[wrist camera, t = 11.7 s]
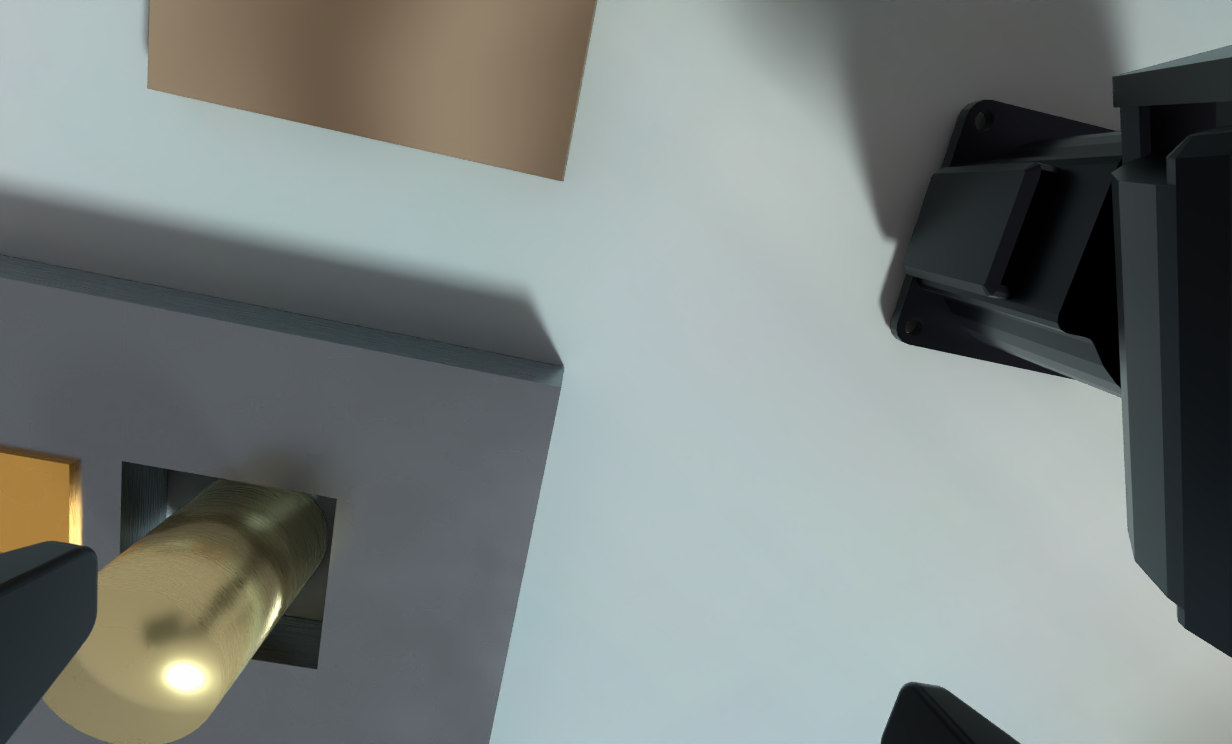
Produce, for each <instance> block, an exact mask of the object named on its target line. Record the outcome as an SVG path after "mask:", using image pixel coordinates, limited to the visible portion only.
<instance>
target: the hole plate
mask: <svg viewBox="0 0 1232 744" xmlns="http://www.w3.org/2000/svg"><path fill="white" fill-rule="evenodd" d="M563 372H564V367H562V366H557V365H552V364H547V363H542V362H537V361H532V360H527V359H522V358H517V357H512V356H507V355H502V354H497V353H492V352H487V351H482V350H477V349H472V348H467V347H462V346H457V345H452V344H447V343H442V342H436V341H431V340H426V339H421V338H416V337H411V336H406V335H401V334H396V333H391V332H386V331H381V330H376V329H371V328H366V327H361V326H356V325H351V324H346V323H341V322H336V321H331V320H326V319H321V318H316V317H311V316H306V315H301V314H296V313H291V312H286V311H281V310H276V309H271V308H266V307H261V306H256V305H250V304H245V303H240V302H235V301H230V300H225V299H220V298H215V297H210V296H205V295H200V294H195V293H190V292H185V291H180V290H175V289H170V288H165V287H160V286H155V285H150V284H145V283H140V282H135V281H130V280H125V279H120V278H115V277H110V276H105V275H100V274H95V273H90V272H85V271H80V270H75V269H70V268H65V267H59V266H54V265H49V264H44V263H39V262H34V261H29V260H24V259H19V258H14V257H9V256H4V255H0V553H4V552H8V551H11V550H15V549H19V548H22V547H26V546H30V545H33V544H37V543H41V542H45V541H59V542H65V543H71V544H77V545H83V546H88V547H90V548H91V549H93V550H94V551H95V553H96V555H97V559H98V571H100V570H101V569H102V568H104V567H105V566H106V565H107V564H109V563H110V562H111V561H113V560H114V559H115V558H116V557H118V556H119V555H120V554H122V553H123V552H124V551H125V550H127V549H128V548H129V547H131V546H132V545H133V544H134V543H136V542H137V541H138V540H140V539H141V538H142V537H143V536H145V535H146V534H147V533H149V532H150V531H151V530H152V529H154V528H155V527H156V526H158V525H159V524H160V523H161V522H163V521H164V520H165V519H166V507H167V483H168V469H171V470H176V471H182V472H188V473H193V474H199V475H205V476H210V477H216V478H222V479H228V480H233V481H239V482H245V483H250V484H256V485H262V486H267V487H273V488H279V489H284V490H290V491H296V492H302V493H307V494H313V495H319V496H324V497H330V498H336V499H337V502H336V511H335V520H334V528H333V537H332V546H331V554H330V563H329V572H328V581H327V589H326V598H325V607H324V615H323V622H320V621H314V620H307V619H301V618H295V617H288V616H282V617H281V618H280V620H279V621H278V622H277V624H276V625H275V626H274V628H273V629H272V631H271V632H270V633H269V635H268V636H267V638H266V639H265V640H264V642H263V643H262V644H261V646H260V647H259V649H258V650H257V651H256V653H255V654H254V655H253V657H252V658H251V660H250V661H249V662H248V664H247V665H246V666H245V668H244V669H243V671H242V672H241V673H240V675H239V676H238V678H237V679H236V680H235V682H234V683H233V684H232V686H231V687H230V689H229V690H228V691H227V693H226V694H225V695H224V697H223V698H222V700H221V701H220V702H219V704H218V705H217V707H216V708H215V709H214V711H213V712H212V713H211V715H210V716H209V717H208V719H207V720H206V721H205V722H204V723H203V724H202V725H201V726H200V727H199V728H197V729H196V730H195V731H193V732H192V733H190V734H188V735H186V736H185V737H183V738H181V739H178V740H175V741H172V742H169V743H165V744H489V740H490V735H491V730H492V726H493V721H494V716H495V711H496V706H497V701H498V696H499V691H500V686H501V681H502V676H503V671H504V666H505V661H506V656H507V652H508V647H509V642H510V637H511V632H512V627H513V622H514V617H515V612H516V607H517V602H518V597H519V592H520V587H521V582H522V578H523V573H524V568H525V563H526V558H527V553H528V548H529V543H530V538H531V533H532V528H533V523H534V518H535V513H536V508H537V504H538V499H539V494H540V489H541V484H542V479H543V474H544V469H545V464H546V459H547V454H548V449H549V444H550V439H551V434H552V429H553V425H554V420H555V415H556V410H557V405H558V400H559V395H560V390H561V385H562V378H563ZM7 744H114V743H109V742H106V741H103V740H99V739H97V738H94V737H92V736H89V735H87V734H85V733H83V732H81V731H79V730H77V729H76V728H74V727H72V726H71V725H69V724H68V723H66V722H65V721H64V720H63V719H61V718H60V717H59V716H58V715H56V713H55V712H54V711H53V710H52V709H51V708H50V707H49V706H48V705H47V704H46V703H45V701H44V700H43V699H42V698H41V700H40V701H39V702H38V704H37V705H36V706H35V708H34V709H33V710H32V711H31V713H30V714H29V715H28V717H27V718H26V719H25V721H24V722H23V723H22V724H21V726H20V727H19V728H18V730H17V731H16V732H15V734H14V735H13V736H12V737H11V739H10V740H9V741H8V743H7Z"/></svg>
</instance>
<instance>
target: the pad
mask: <svg viewBox="0 0 1232 744" xmlns="http://www.w3.org/2000/svg"><path fill="white" fill-rule="evenodd" d="M596 5H597V0H150V9H149V45H148V81H147V88H148V89H152V90H157V91H161V92H166V93H170V94H175V95H179V96H184V97H188V98H193V99H197V100H202V101H206V102H210V103H215V104H219V105H224V106H228V107H233V108H237V109H242V110H246V111H251V112H255V113H260V114H264V115H268V116H273V117H277V118H282V119H286V120H291V121H295V122H300V123H304V124H309V125H313V126H318V127H322V128H327V129H331V130H335V131H340V132H344V133H349V134H353V135H358V136H362V137H367V138H371V139H376V140H380V141H385V142H389V143H393V144H398V145H402V146H407V147H411V148H416V149H420V150H425V151H429V152H434V153H438V154H443V155H447V156H452V157H456V158H460V159H465V160H469V161H474V162H478V163H483V164H487V165H492V166H496V167H501V168H505V169H510V170H514V171H518V172H523V173H527V174H532V175H536V176H541V177H545V178H550V179H554V180H559V181H564V175H565V170H566V165H567V159H568V154H569V149H570V143H571V138H572V133H573V127H574V122H575V117H576V111H577V106H578V101H579V95H580V90H581V85H582V79H583V74H584V69H585V63H586V58H587V53H588V47H589V42H590V37H591V31H592V26H593V21H594V15H595V10H596Z"/></svg>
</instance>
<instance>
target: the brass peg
mask: <svg viewBox="0 0 1232 744" xmlns="http://www.w3.org/2000/svg"><path fill="white" fill-rule="evenodd" d="M327 542H328V533H327V526H326V522H325V519H324V516H323V514H322V512H321V510H320V508H319V507H318V505H317V504H316V502H315V501H314V500H313V498H312V497H311V496H310V495H309V494H307V493H302V492H296V491H290V490H284V489H279V488H273V487H267V486H262V485H256V484H250V483H245V482H239V481H233V480H228V479H222V478H219V479H218V480H216V481H214V482H213V483H212V484H210V485H209V486H208V487H207V488H205V489H204V490H203V491H201V492H200V493H199V494H198V495H196V496H195V497H194V498H192V499H191V500H190V501H188V502H187V503H186V504H185V505H183V506H182V507H181V508H179V509H178V510H177V511H176V512H174V513H173V514H172V515H170V516H169V517H168V518H167V519H165V520H164V521H163V522H161V523H160V524H159V525H158V526H156V527H155V528H154V529H152V530H151V531H150V532H149V533H147V534H146V535H145V536H143V537H142V538H141V539H140V540H138V541H137V542H136V543H134V544H133V545H132V546H131V547H129V548H128V549H127V550H125V551H124V552H123V553H122V554H120V555H119V556H118V557H116V558H115V559H114V560H113V561H111V562H110V563H109V564H107V565H106V566H105V567H104V568H102V569H101V570H100V571H98V596H97V617H96V621H95V624H94V627H93V629H92V631H91V633H90V635H89V637H88V638H87V640H86V641H85V643H84V644H83V645H82V647H81V648H80V649H79V650H78V652H77V653H76V654H75V656H74V657H73V658H72V659H71V661H70V662H69V663H68V665H67V666H66V667H65V669H64V670H63V671H62V672H61V674H60V675H59V676H58V678H57V679H56V680H55V682H54V683H53V684H52V685H51V687H50V688H49V689H48V691H47V692H46V693H45V695H44V696H43V697H42V699H43V700H44V701H45V703H46V704H47V705H48V706H49V707H50V708H51V709H52V710H53V711H54V712H55V713H56V715H58V716H59V717H60V718H61V719H63V720H64V721H65V722H66V723H68V724H69V725H71V726H72V727H74V728H76V729H77V730H79V731H81V732H83V733H85V734H87V735H89V736H92V737H94V738H97V739H99V740H103V741H106V742H109V743H114V744H165V743H169V742H172V741H175V740H178V739H181V738H183V737H185V736H186V735H188V734H190V733H192V732H193V731H195V730H196V729H197V728H199V727H200V726H201V725H202V724H203V723H204V722H205V721H206V720H207V719H208V717H209V716H210V715H211V713H212V712H213V711H214V709H215V708H216V707H217V705H218V704H219V702H220V701H221V700H222V698H223V697H224V695H225V694H226V693H227V691H228V690H229V689H230V687H231V686H232V684H233V683H234V682H235V680H236V679H237V678H238V676H239V675H240V673H241V672H242V671H243V669H244V668H245V666H246V665H247V664H248V662H249V661H250V660H251V658H252V657H253V655H254V654H255V653H256V651H257V650H258V649H259V647H260V646H261V644H262V643H263V642H264V640H265V639H266V638H267V636H268V635H269V633H270V632H271V631H272V629H273V628H274V626H275V625H276V624H277V622H278V621H279V620H280V618H281V617H282V615H283V614H284V613H285V611H286V610H287V609H288V607H289V606H290V604H291V603H292V602H293V600H294V599H295V597H296V596H297V595H298V593H299V592H300V591H301V589H302V588H303V586H304V585H305V584H306V582H307V581H308V580H309V578H310V577H311V575H312V574H313V573H314V571H315V570H316V568H317V567H318V566H319V564H320V563H321V561H322V559H323V557H324V554H325V552H326V548H327Z"/></svg>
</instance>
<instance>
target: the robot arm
mask: <svg viewBox="0 0 1232 744" xmlns="http://www.w3.org/2000/svg"><path fill="white" fill-rule="evenodd" d="M1112 83H1113V106H1114V107H1120V117H1121V131H1114V130H1110V129H1106V128H1102V127H1098V126H1094V125H1090V124H1086V123H1082V122H1078V121H1074V120H1070V119H1066V118H1062V117H1058V116H1054V115H1050V114H1046V113H1042V112H1038V111H1034V110H1030V109H1026V108H1022V107H1018V106H1014V105H1010V104H1006V103H1002V102H998V101H994V100H981V101H977V102H973V103H971V104H969V105H967V106H966V107H965V108H964V109H963V110H962V111H961V113H960V115H959V117H958V119H957V122H956V125H955V128H954V131H953V134H952V137H951V140H950V143H949V146H948V149H947V152H946V155H945V159H944V162H943V165H942V168H941V170H939V171H938V172H936V173H935V174H933V175H932V177H931V180H930V183H929V186H928V189H927V192H926V196H925V199H924V202H923V205H922V208H921V211H920V214H919V217H918V220H917V223H916V226H915V229H914V232H913V235H912V238H911V241H910V244H909V247H908V250H907V254H906V257H905V260H904V263H903V264H904V267H905V270H906V272H907V274H906V277H905V280H904V283H903V286H902V289H901V292H900V295H899V298H898V301H897V304H896V307H895V310H894V313H893V316H892V319H891V324H890V329H891V332H892V334H893V336H894V337H895V338H896V339H898V340H900V341H902V342H904V343H907V344H909V345H914V346H919V347H924V348H928V349H933V350H938V351H942V352H947V353H952V354H957V355H961V356H966V357H971V358H975V359H980V360H985V361H990V362H994V363H999V364H1004V365H1008V366H1013V367H1018V368H1023V369H1027V370H1032V371H1037V372H1042V373H1046V374H1051V375H1056V376H1060V377H1065V378H1070V379H1075V380H1078V381H1080V382H1083V383H1085V384H1088V385H1090V386H1093V387H1095V388H1098V389H1101V390H1103V391H1106V392H1108V393H1111V394H1113V395H1116V396H1118V397H1121V398H1122V418H1123V440H1124V461H1125V483H1126V505H1127V526H1128V533H1129V537H1130V542H1131V546H1132V550H1133V555H1134V559H1135V562H1136V563H1137V564H1138V565H1139V566H1140V567H1141V568H1142V569H1143V571H1144V572H1145V573H1146V574H1147V575H1148V576H1149V577H1150V578H1151V580H1152V581H1153V582H1154V583H1155V584H1156V585H1157V586H1158V587H1159V589H1160V590H1161V591H1162V592H1163V593H1164V594H1165V595H1166V596H1167V598H1169V599H1170V600H1171V601H1173V602H1174V603H1175V604H1177V618H1178V622H1179V623H1180V624H1181V625H1182V626H1183V627H1184V628H1185V629H1187V630H1188V631H1190V632H1191V633H1193V634H1195V635H1196V636H1198V637H1199V638H1201V639H1203V640H1204V641H1206V642H1207V643H1209V644H1211V645H1212V646H1214V647H1215V648H1217V649H1219V650H1220V651H1222V652H1223V653H1225V654H1227V655H1228V656H1230V657H1232V45H1229V46H1226V47H1222V48H1218V49H1214V50H1211V51H1207V52H1203V53H1199V54H1196V55H1192V56H1188V57H1184V58H1180V59H1177V60H1173V61H1169V62H1165V63H1162V64H1158V65H1154V66H1150V67H1147V68H1143V69H1139V70H1135V71H1131V72H1128V73H1124V74H1120V75H1117V76H1113V77H1112ZM979 112H981V113H982V114H984V116H985V125H984V127H983V128H982V129H981V130H978V129H977V128H976V126H975V118H976V116H977V114H978V113H979ZM912 318H915V319H916V321H917V322H916V327H915V329H914V330H913V331H911V332H910V333H906V331H905V325H906V323H907V322H908V321H909V320H910V319H912ZM97 596H98V559H97V555H96V553H95V551H94V550H93V549H91V548H90V547H88V546H83V545H77V544H71V543H65V542H59V541H45V542H41V543H37V544H33V545H30V546H26V547H22V548H19V549H15V550H11V551H8V552H4V553H0V744H7V743H8V741H9V740H10V739H11V737H12V736H13V735H14V734H15V732H16V731H17V730H18V728H19V727H20V726H21V724H22V723H23V722H24V721H25V719H26V718H27V717H28V715H29V714H30V713H31V711H32V710H33V709H34V708H35V706H36V705H37V704H38V702H39V701H40V700H41V698H42V697H43V696H44V695H45V693H46V692H47V691H48V689H49V688H50V687H51V685H52V684H53V683H54V682H55V680H56V679H57V678H58V676H59V675H60V674H61V672H62V671H63V670H64V669H65V667H66V666H67V665H68V663H69V662H70V661H71V659H72V658H73V657H74V656H75V654H76V653H77V652H78V650H79V649H80V648H81V647H82V645H83V644H84V643H85V641H86V640H87V638H88V637H89V635H90V633H91V631H92V629H93V627H94V624H95V621H96V617H97ZM881 744H1021V743H1019V742H1018V741H1016V740H1015V739H1014V738H1012V737H1011V736H1010V735H1008V734H1007V733H1006V732H1004V731H1003V730H1001V729H1000V728H999V727H997V726H996V725H995V724H993V723H992V722H990V721H989V720H988V719H986V718H985V717H984V716H982V715H981V714H980V713H978V712H977V711H975V710H974V709H973V708H971V707H970V706H969V705H967V704H966V703H964V702H963V701H962V700H960V699H959V698H958V697H956V696H955V695H954V694H952V693H951V692H949V691H948V690H946V689H945V688H943V687H940V686H936V685H930V684H924V683H917V682H909V683H906V684H905V685H904V686H903V687H902V688H901V690H900V692H899V694H898V697H897V699H896V702H895V704H894V707H893V709H892V712H891V714H890V717H889V720H888V722H887V725H886V727H885V730H884V732H883V735H882V739H881Z"/></svg>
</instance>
